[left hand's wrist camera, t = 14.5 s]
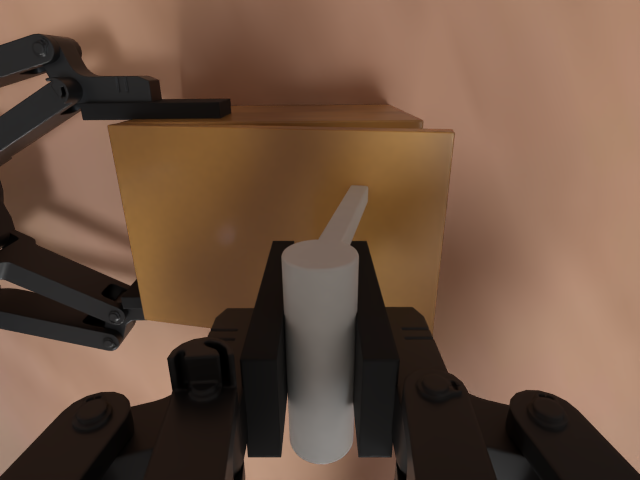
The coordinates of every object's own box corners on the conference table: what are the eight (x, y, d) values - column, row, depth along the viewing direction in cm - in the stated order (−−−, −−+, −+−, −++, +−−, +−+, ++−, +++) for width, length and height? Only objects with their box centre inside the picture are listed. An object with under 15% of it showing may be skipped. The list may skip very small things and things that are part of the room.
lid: (453, 129, 16) (486, 190, 8) (429, 345, 19) (435, 539, 11) (120, 122, 18) (-108, 162, 10) (154, 311, 22) (3, 446, 14)
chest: (389, 104, 27) (424, 119, 19) (382, 241, 31) (408, 308, 22) (182, 106, 27) (118, 122, 18) (199, 242, 31) (152, 310, 22)
